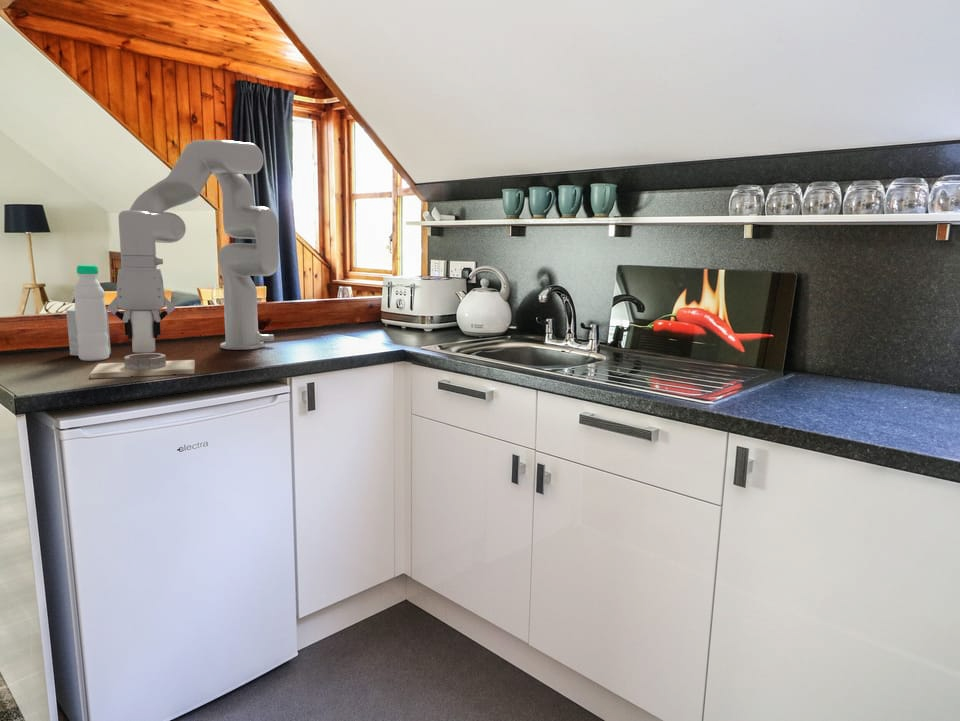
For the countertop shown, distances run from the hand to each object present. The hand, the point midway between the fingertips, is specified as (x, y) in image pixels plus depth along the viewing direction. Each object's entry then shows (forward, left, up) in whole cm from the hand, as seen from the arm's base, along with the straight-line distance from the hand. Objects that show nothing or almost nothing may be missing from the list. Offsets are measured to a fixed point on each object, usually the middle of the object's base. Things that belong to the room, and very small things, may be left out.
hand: (143, 337), depth 157 cm
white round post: (0, 0, -3) cm, 3 cm away
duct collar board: (0, 0, -8) cm, 8 cm away
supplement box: (+16, -29, -9) cm, 34 cm away
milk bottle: (+14, -21, -9) cm, 27 cm away
